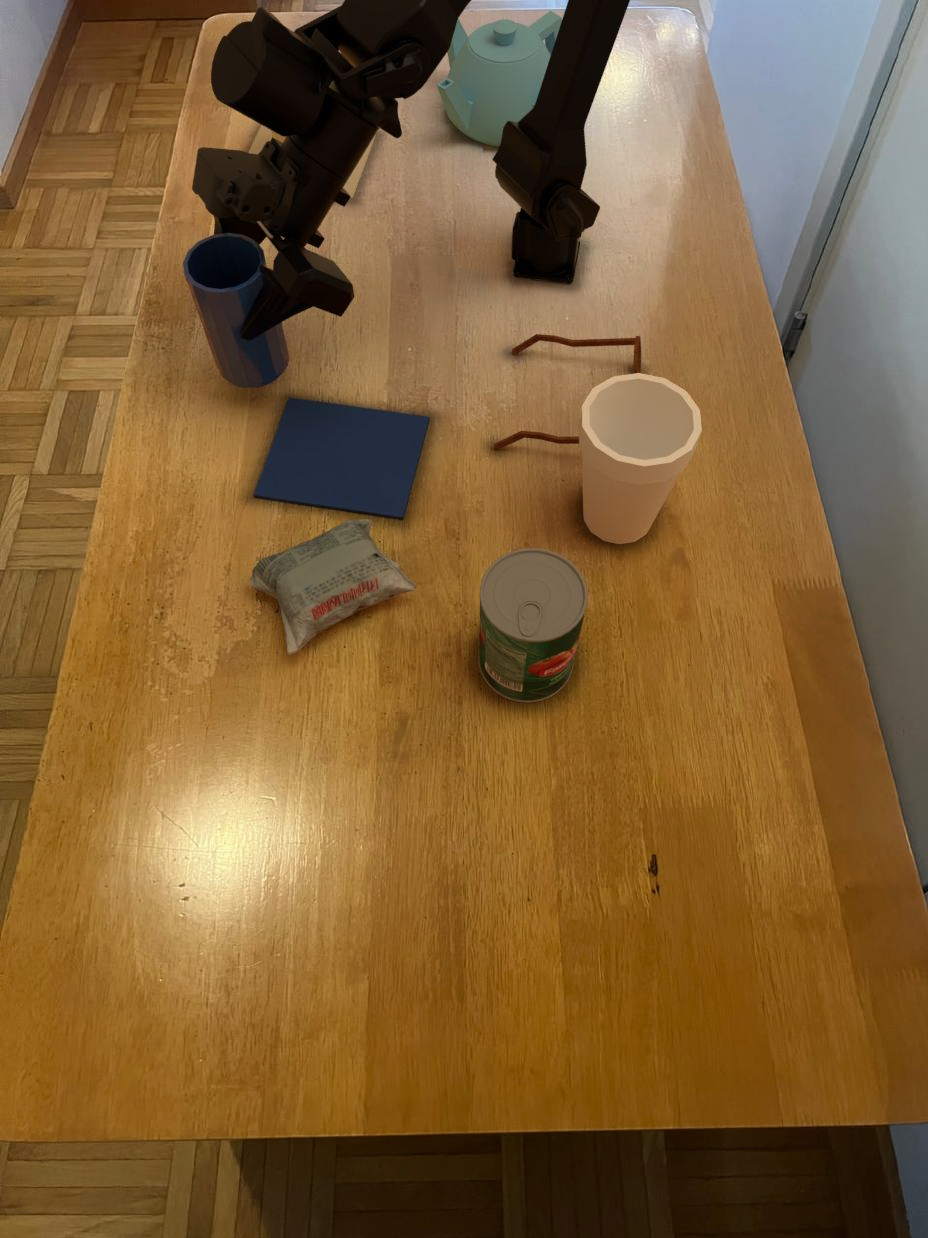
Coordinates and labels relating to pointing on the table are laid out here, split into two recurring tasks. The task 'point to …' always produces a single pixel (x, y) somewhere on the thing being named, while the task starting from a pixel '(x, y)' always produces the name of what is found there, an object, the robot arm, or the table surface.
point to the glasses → (572, 343)
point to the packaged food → (328, 580)
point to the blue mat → (343, 458)
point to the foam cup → (633, 452)
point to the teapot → (496, 74)
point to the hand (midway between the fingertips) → (226, 313)
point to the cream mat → (351, 184)
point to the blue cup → (234, 308)
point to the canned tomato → (530, 623)
